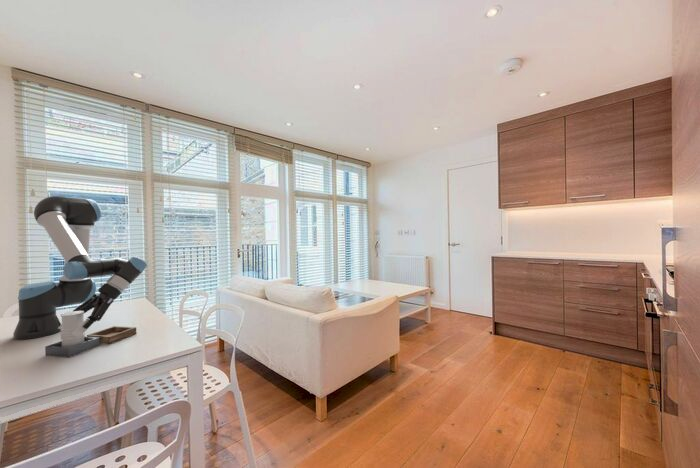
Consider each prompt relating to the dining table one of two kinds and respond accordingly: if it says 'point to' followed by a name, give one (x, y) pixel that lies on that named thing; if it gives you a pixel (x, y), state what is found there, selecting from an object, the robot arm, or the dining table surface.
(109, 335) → the tray
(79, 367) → the dining table surface
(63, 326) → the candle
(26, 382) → the dining table surface
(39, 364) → the dining table surface
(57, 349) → the shallow grey tray
